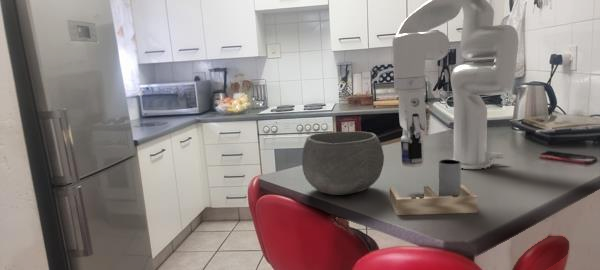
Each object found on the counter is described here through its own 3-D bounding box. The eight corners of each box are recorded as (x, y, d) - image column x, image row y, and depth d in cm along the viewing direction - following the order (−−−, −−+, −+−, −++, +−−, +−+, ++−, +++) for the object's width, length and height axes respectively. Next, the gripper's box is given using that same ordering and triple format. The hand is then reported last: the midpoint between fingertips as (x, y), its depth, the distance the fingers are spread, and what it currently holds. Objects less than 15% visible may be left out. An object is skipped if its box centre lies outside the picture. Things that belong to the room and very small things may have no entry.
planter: (435, 203, 92) (435, 160, 91) (454, 202, 92) (455, 158, 91) (443, 210, 88) (444, 164, 86) (463, 208, 88) (464, 163, 86)
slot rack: (462, 199, 94) (462, 183, 94) (477, 212, 85) (477, 195, 85) (389, 201, 95) (389, 186, 94) (397, 215, 86) (396, 198, 86)
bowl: (385, 181, 112) (384, 129, 110) (383, 206, 92) (382, 142, 90) (311, 180, 117) (309, 130, 115) (294, 204, 97) (291, 143, 95)
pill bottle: (406, 161, 106) (404, 125, 104) (426, 162, 103) (425, 125, 101) (398, 166, 102) (397, 129, 100) (419, 168, 99) (418, 129, 97)
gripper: (435, 85, 90) (436, 163, 93) (416, 81, 107) (418, 147, 110) (401, 88, 90) (404, 165, 94) (388, 83, 107) (391, 149, 111)
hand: (412, 154), depth 102 cm, fingers closed on pill bottle, 5 cm apart
